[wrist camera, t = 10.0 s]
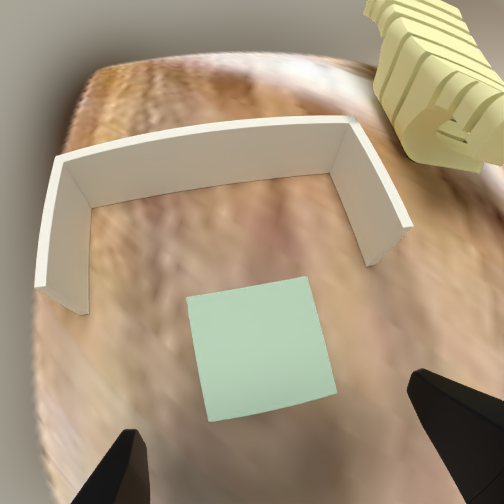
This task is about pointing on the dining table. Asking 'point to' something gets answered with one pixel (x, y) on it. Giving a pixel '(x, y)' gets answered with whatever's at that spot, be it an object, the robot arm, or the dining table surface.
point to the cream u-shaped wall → (210, 184)
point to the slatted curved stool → (437, 85)
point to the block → (259, 348)
